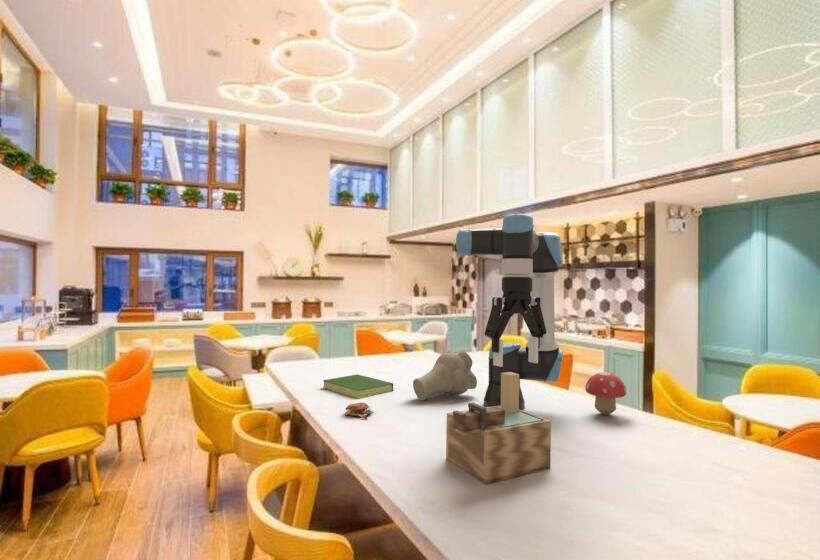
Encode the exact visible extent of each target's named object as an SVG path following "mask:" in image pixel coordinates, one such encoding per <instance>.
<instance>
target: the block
mask: <svg viewBox="0 0 820 560" xmlns="http://www.w3.org/2000/svg"><path fill="white" fill-rule="evenodd" d="M459 411H460V410H453V411H452V412H453V428H455V429H457V430H459V431H465V430H468V429H474V428H480V412H478V411H473V412H466V413H462V412H459ZM503 423H505V410H503V409H501V408H493V409H486V426H491V425H497V424H503Z"/></svg>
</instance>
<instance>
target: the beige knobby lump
mask: <svg viewBox="0 0 820 560" xmlns="http://www.w3.org/2000/svg"><path fill="white" fill-rule="evenodd" d="M472 367H473V360H472V358H471V355H469V354H468V353H467V352H466V351H465V350H461V351H459V352H457V353H456V352H455V351H454V350H453V349H448V350H447V352H445V353H442V354H440V355H439V356H438V358H437V359H436V361H435V363H434V365H433V367H432V369H430V371H428V372H427V373H426V374H424V375H422V376H420V377H417V378H415V379H413V381H412V387H413V392H414V394H415V396H416V397H417V398H418V400H420V401H425V400H427V399H429V398H430V397H433V396H435V395H438V394H439V395H440V394H451V395H462V394H465V393H467V391H468V390H474V389H476V388H477V385H478V380H477V377H476V375H475V374H474V373H473V372H472V369H471V368H472Z"/></svg>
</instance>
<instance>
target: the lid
mask: <svg viewBox="0 0 820 560" xmlns="http://www.w3.org/2000/svg"><path fill="white" fill-rule="evenodd" d="M498 408H501V409H503V410H505V423H503V424H497V425H496V426H498V427H500V428H504V427H510V426H515V425H521V424H527V423H532V422H538V421H542V420H541V419H538V418H535V417H533V416H530V415H527V414H525V413H522V412H519V374H516V373H513V372H504V373H501V407H498ZM491 409H493V408H491Z"/></svg>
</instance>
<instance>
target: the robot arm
mask: <svg viewBox="0 0 820 560" xmlns="http://www.w3.org/2000/svg"><path fill="white" fill-rule="evenodd" d="M455 247H456V251H457V253H458V255H460V256H467V257H469V256H471V257H472V256H478V257H484V258H487V259H489V260H491V261H493V262H495V263H499V264H501V274H502V275H503V277H502V278H501V291H502V292H503V294H502V297H497V296H492V298H491V309H490V312H489V316H488V319H487V322H486V328H485V331H484V337H488V338H489V339H490V341H491V342H490V343H491V346H490V348H489V351H488V352H489V353H488V385H487V387H486V391H485V393H484V397H483V406H484V407H492V406H499V405H501V373H504V372H513V373H516V374H519V409H520V410H523V409H525V398H524V395H523V392H522V389H521V380H525V381H538V382H544V383H548V382H549V383H550V382H551V383H555V382H557V381H559V379H560V376H561V370H562V364H563V357H564V350H562V349H559V347H560V346H559V343H558V342H556V340H555V276H556V275H557V273H558V272H559V269H560V267H562V266H563V265H564V254H563V247H562V242H561V237H560V234H558V233H556V232H548V231H547V232H546V231H544V232H543V231H541V232H540V231H539V232H536V231H535V230H534V218H533V216H532V215H530V214H527V213H512V214H507V215H504V217H503V218H502V227H494V228H463V229H459V230H458V232H457V233H456V237H455ZM516 314H520V316H522V318H523V321H524V322H525V325H526V327H527V329H528V331H529V336H528V341H527V342H526V343H525V347H522V345H521V343H518V342H506V343H504V339H503V338H502V335H503V334H504V331H505V330H506V327H507V325H508V323H509V322H510V319H511V318H512V317H513V316H514V315H516ZM501 338H502V339H501Z"/></svg>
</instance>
